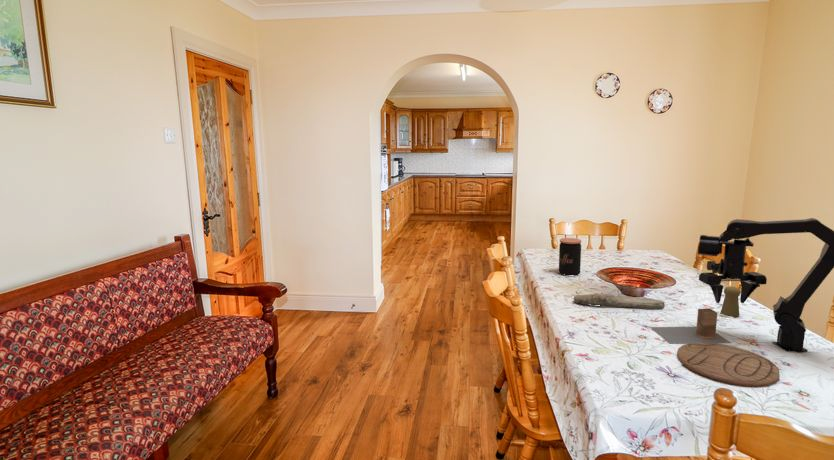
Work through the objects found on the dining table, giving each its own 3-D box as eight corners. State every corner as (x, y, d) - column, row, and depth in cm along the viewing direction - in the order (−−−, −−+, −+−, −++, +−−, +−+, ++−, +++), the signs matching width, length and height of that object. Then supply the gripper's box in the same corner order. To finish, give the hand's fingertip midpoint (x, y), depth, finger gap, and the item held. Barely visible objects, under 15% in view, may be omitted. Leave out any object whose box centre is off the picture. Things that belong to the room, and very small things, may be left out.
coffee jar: (554, 272, 234) (555, 239, 231) (569, 270, 238) (570, 237, 235) (568, 277, 224) (570, 242, 221) (584, 274, 229) (586, 240, 225)
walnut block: (715, 338, 149) (717, 312, 148) (702, 338, 150) (705, 312, 148) (707, 333, 153) (710, 308, 152) (695, 333, 154) (698, 308, 152)
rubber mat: (731, 344, 146) (732, 343, 145) (669, 344, 146) (669, 343, 146) (706, 327, 159) (706, 326, 159) (649, 328, 160) (649, 327, 160)
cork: (742, 318, 167) (745, 290, 165) (724, 317, 168) (727, 289, 166) (734, 312, 173) (737, 285, 171) (717, 311, 174) (720, 284, 172)
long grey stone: (667, 315, 176) (660, 308, 185) (669, 302, 175) (661, 295, 185) (574, 305, 184) (572, 299, 193) (575, 293, 183) (573, 287, 193)
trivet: (665, 367, 132) (665, 361, 132) (689, 341, 150) (690, 335, 149) (771, 398, 115) (772, 392, 114) (785, 364, 132) (785, 358, 132)
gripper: (746, 251, 154) (742, 294, 157) (691, 252, 155) (688, 295, 158) (770, 259, 143) (765, 305, 146) (710, 260, 144) (706, 306, 147)
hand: (729, 302), depth 149 cm, fingers open, 8 cm apart
